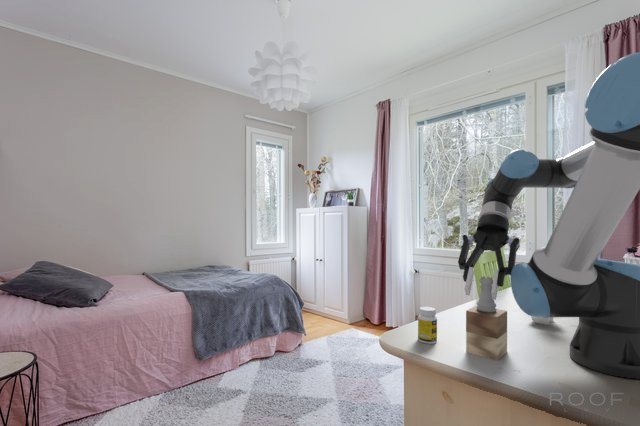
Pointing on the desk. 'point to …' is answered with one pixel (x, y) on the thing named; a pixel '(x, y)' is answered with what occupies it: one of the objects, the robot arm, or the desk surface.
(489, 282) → the rook chess piece
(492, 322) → the walnut block
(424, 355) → the desk surface
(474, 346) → the beech block
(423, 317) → the supplement bottle
